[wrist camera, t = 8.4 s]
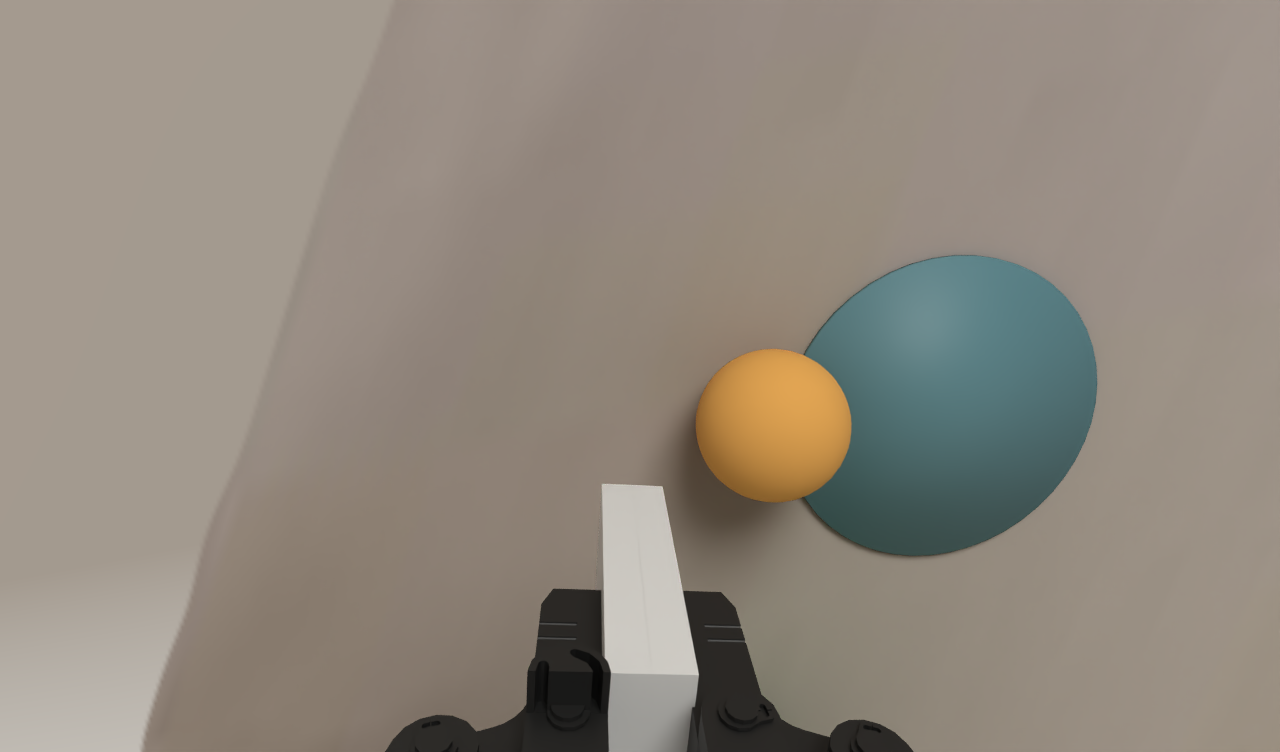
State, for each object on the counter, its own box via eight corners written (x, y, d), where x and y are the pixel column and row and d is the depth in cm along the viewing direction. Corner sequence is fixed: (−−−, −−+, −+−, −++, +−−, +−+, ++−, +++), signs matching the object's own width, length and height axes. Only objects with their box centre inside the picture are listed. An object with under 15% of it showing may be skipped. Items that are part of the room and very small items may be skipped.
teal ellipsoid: (1132, 266, 28) (1135, 267, 28) (1049, 556, 32) (1052, 558, 31) (810, 244, 26) (811, 244, 26) (765, 549, 30) (766, 552, 30)
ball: (667, 345, 26) (781, 332, 29) (666, 487, 27) (775, 461, 30) (767, 374, 21) (891, 355, 24) (760, 543, 22) (879, 506, 25)
